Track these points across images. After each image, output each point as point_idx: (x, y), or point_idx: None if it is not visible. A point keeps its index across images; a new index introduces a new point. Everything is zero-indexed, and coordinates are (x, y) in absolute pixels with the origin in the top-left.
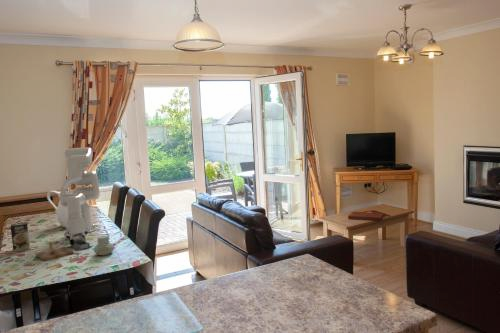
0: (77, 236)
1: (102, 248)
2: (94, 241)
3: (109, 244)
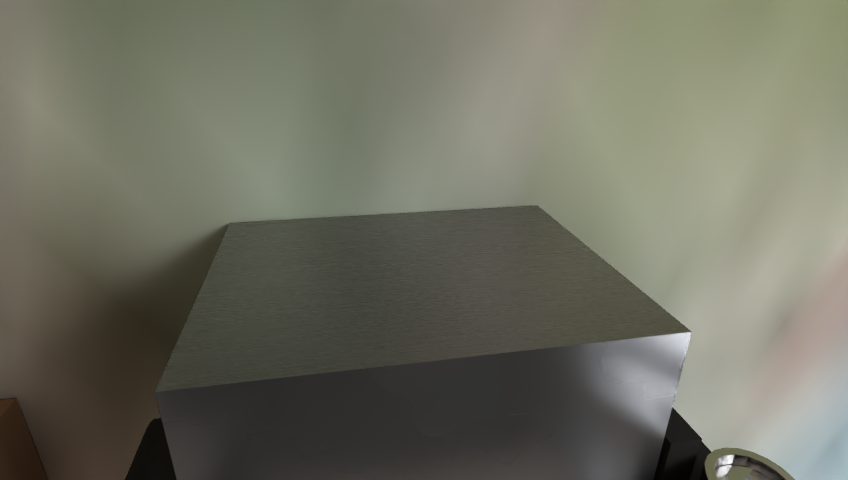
0: (528, 406)
1: None
2: (763, 318)
3: None
